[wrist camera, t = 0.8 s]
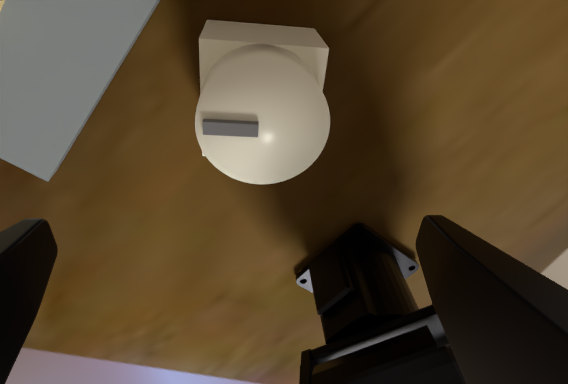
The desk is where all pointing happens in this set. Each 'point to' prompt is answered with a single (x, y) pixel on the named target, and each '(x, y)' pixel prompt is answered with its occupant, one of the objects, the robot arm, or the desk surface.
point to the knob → (261, 99)
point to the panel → (58, 71)
